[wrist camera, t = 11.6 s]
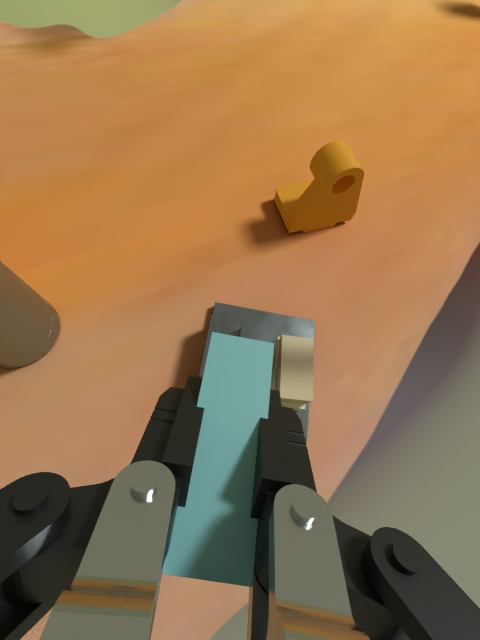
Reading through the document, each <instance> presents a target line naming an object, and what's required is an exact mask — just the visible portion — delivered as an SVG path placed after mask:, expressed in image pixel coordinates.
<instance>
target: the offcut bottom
mask: <svg viewBox="0 0 480 640" xmlns="http://www.w3.org/2000/svg"><path fill="white" fill-rule="evenodd" d="M279 338H280V337H279V336H278V337H277V338H276V340H275V341H274V352H273V364H272V375H271V387H270V389H273V390H275V382H276V359H277V341H278V340H279ZM281 404H282V407H288V408H293V410H296V411H301V410H304V409H305V405H306V404H305V403H295V402H285V401H281Z"/></svg>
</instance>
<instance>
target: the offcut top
mask: <svg viewBox="0 0 480 640" xmlns="http://www.w3.org/2000/svg"><path fill="white" fill-rule="evenodd" d="M275 390H279V392H280V397H281V401H285V402H295V403H305V404H306V403H309V402H312V401H313V338H306V337H297V336H288V335H282V336H281V337H280V338H279V340H278V341H277V359H276V382H275Z"/></svg>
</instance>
